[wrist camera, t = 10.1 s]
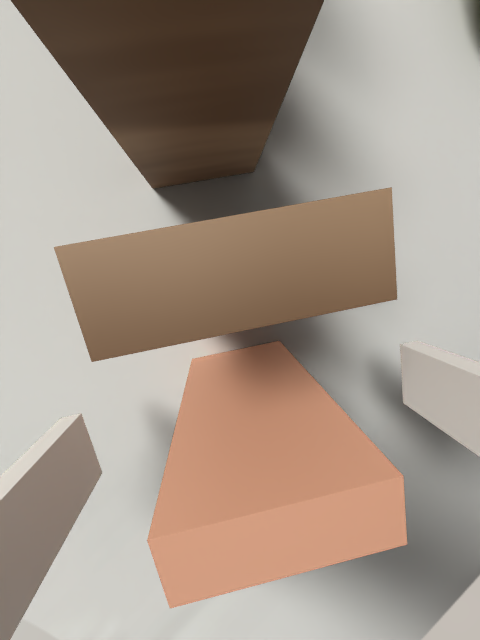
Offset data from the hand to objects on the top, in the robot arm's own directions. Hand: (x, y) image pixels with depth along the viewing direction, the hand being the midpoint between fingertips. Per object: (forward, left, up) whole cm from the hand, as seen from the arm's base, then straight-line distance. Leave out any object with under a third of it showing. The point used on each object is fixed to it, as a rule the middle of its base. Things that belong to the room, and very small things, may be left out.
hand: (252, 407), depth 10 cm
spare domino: (0, 0, -5) cm, 5 cm away
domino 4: (-2, -5, -5) cm, 7 cm away
